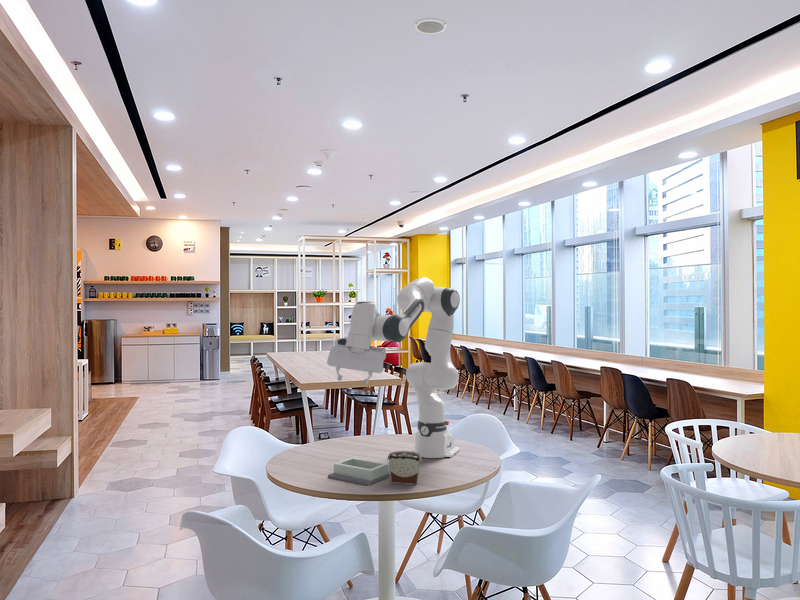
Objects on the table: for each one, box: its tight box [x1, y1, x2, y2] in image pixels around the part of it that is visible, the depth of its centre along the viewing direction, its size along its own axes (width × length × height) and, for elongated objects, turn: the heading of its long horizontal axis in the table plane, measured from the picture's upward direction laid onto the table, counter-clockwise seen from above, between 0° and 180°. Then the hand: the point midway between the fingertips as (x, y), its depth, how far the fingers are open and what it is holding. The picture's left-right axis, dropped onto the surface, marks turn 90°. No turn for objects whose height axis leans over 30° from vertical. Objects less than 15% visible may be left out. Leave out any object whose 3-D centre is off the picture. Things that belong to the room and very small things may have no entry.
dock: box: [327, 456, 391, 487], centre depth 199 cm, size 16×18×4 cm
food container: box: [386, 450, 422, 485], centre depth 193 cm, size 12×6×10 cm, turn 77°
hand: (352, 382), depth 193 cm, fingers open, 8 cm apart
